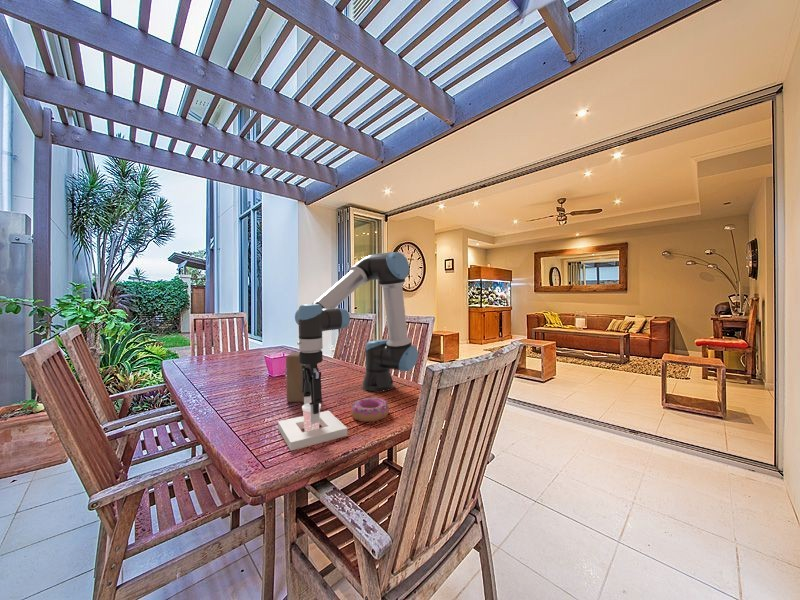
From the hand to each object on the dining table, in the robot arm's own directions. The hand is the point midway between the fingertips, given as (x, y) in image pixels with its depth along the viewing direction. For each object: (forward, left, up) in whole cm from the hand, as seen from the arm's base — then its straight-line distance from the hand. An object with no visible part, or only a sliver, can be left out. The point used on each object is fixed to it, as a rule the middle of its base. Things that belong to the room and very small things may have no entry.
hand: (311, 418), depth 105 cm
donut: (-23, -2, -5) cm, 24 cm away
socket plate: (0, 0, -5) cm, 5 cm away
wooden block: (-6, -35, -5) cm, 36 cm away
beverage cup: (0, 0, -5) cm, 5 cm away
